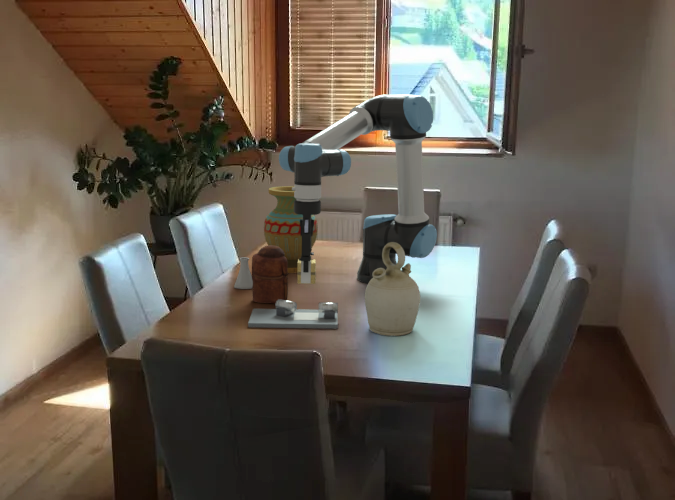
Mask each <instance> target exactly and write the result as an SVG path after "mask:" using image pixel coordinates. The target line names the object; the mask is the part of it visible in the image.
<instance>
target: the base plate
mask: <svg viewBox="0 0 675 500" xmlns="http://www.w3.org/2000/svg"><path fill="white" fill-rule="evenodd" d="M338 321H339V320H338V313H335V319H324V313H318V309H304V308H303V309H302V308H298V309H296V311H295V312H293V314H291V315H289V316H287V317H281V316H276V308H252V311H251V314H250V317H249V319H248V322H247V327H248V328H272V329H273V328H274V329H275V328H278V329H279V328H281V329H283V328H285V329H287V328H288V329H332V330H333V329H338V327H339V325H338V324H339V322H338Z"/></svg>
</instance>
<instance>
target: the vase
mask: <svg viewBox="0 0 675 500" xmlns="http://www.w3.org/2000/svg"><path fill="white" fill-rule="evenodd" d="M292 187H295V186H293V185H289V186H272V187H269V188H268V194H269V195H271V196H274V197H275V198H276V200H277V202H276V203H277V204H276V207H275V208H273V210H271V211H270V212H269V213H267V215H266V217H265V219H264V224H263V233H264V234H263V235H264V239H265V242H266V244H267V246H268V245H274V246H278V247H279V248H281V249H282V250H283V252H284V253H285V255H284V257H286V259H287V262H288V264H287V269H288V274H297V271H298V259H301V256H302V236H301V235H300V232H301V227H300V219H303V215H302V214H300V215H299V214H296V213H294V201H295V200H296V198H295V197H294V192H295V191H293V190H292ZM315 216H316V215H311V218H312V220H314V227H313V236H312V237H311V249H312V250H313V248H314V245H315V243H316V240H317V237H318V228H319V227H318V221H317V218H316V217H315Z"/></svg>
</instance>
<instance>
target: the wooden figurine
mask: <svg viewBox="0 0 675 500" xmlns="http://www.w3.org/2000/svg"><path fill="white" fill-rule="evenodd" d="M284 255H285V253H284V252H283V250H282V249H281V248H279V247H278V246H274V245H268V244H267V245H264V246H263V247H261V248H260V249H259V250H258V252H257V253H255V254H253V256H252V258H251V276H252V280H253V286H252V288H251V289H252V301H253V302H255V303H259V304H260V303H261V304H274V305H276V301H277V300H278V299H281V300H286V301H288V297H289V296H288V295H289V294H288V293H289V292H288V291H289V289H288V287H289V286H288V285H289V282H288V281H289V279H288V277H287V276H288V274H289V273H288V269H287V264H288V262H287V259H286V257H284Z"/></svg>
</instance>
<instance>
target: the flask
mask: <svg viewBox="0 0 675 500" xmlns="http://www.w3.org/2000/svg"><path fill="white" fill-rule="evenodd" d="M249 260H250V257H246V256H245V257H244V256H243V257H242V256H241V257H239V261H240V268H239V271H238V274H237V276H236V277H237V278H236V280H235V283H234V287H233V288H234V289H237V290H238V289H239V290H249V289H250V290H251V289H252V286H253V280H252V272H251V270H250V267H249Z"/></svg>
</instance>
